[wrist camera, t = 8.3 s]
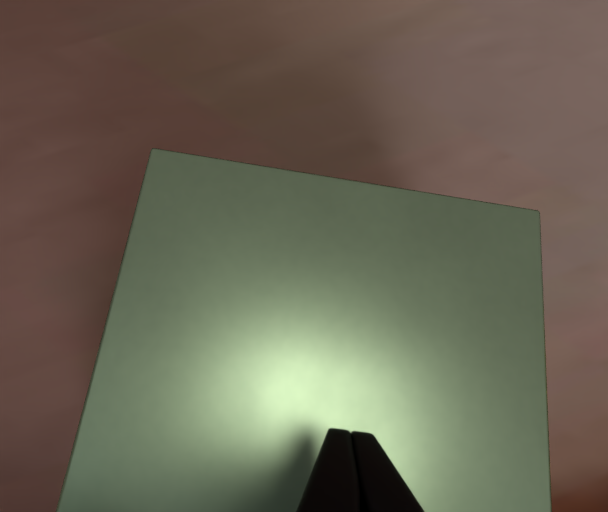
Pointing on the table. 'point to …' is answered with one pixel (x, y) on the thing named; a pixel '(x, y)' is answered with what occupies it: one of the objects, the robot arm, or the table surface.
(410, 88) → the table surface
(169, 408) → the lid
